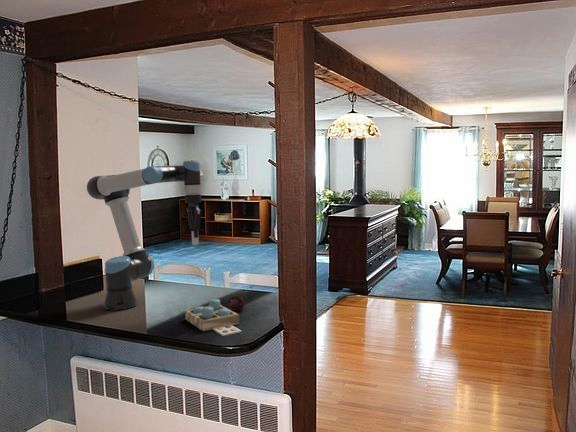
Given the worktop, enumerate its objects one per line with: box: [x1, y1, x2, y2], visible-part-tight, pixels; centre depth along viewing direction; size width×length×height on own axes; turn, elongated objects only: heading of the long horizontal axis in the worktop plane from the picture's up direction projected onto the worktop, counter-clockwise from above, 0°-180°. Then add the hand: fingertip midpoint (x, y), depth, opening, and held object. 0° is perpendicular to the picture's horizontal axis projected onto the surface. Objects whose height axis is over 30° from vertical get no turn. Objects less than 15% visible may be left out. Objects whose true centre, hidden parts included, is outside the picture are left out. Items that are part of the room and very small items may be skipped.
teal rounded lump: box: [192, 306, 205, 314], centre depth 220 cm, size 5×5×5 cm
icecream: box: [227, 294, 247, 312], centre depth 233 cm, size 7×7×15 cm
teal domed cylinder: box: [202, 306, 214, 320], centre depth 211 cm, size 5×5×5 cm
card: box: [212, 324, 242, 337], centre depth 205 cm, size 10×8×1 cm
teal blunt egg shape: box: [208, 298, 221, 311], centre depth 223 cm, size 5×5×5 cm
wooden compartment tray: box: [184, 304, 240, 332], centre depth 218 cm, size 20×16×4 cm
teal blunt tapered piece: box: [218, 308, 231, 317], centre depth 215 cm, size 5×5×5 cm
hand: (195, 244), depth 241 cm, fingers closed
